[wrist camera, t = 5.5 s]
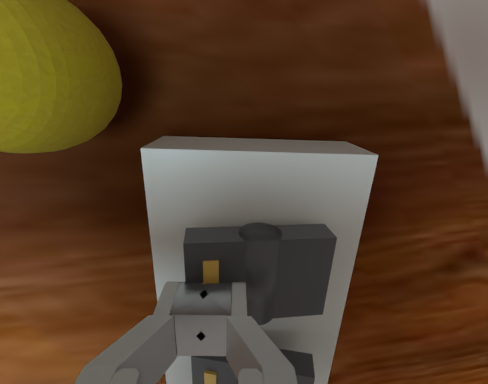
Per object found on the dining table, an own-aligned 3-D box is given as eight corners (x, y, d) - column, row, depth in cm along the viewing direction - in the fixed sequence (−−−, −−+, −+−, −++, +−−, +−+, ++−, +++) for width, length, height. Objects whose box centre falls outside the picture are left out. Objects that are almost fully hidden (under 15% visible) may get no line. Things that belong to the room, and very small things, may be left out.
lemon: (95, 155, 14) (-67, 223, 7) (8, 66, 12) (-342, 19, 5) (170, 92, 13) (79, 87, 6) (86, -15, 11) (-207, -231, 4)
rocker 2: (311, 348, 13) (315, 384, 12) (302, 398, 15) (305, 437, 13) (200, 330, 14) (188, 362, 12) (202, 379, 15) (191, 414, 14)
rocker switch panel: (345, 141, 14) (378, 155, 11) (293, 440, 24) (302, 494, 21) (163, 136, 14) (140, 148, 10) (187, 440, 24) (178, 496, 20)
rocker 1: (321, 220, 12) (340, 241, 10) (310, 290, 13) (325, 320, 11) (186, 224, 11) (182, 248, 9) (190, 298, 12) (187, 331, 10)
